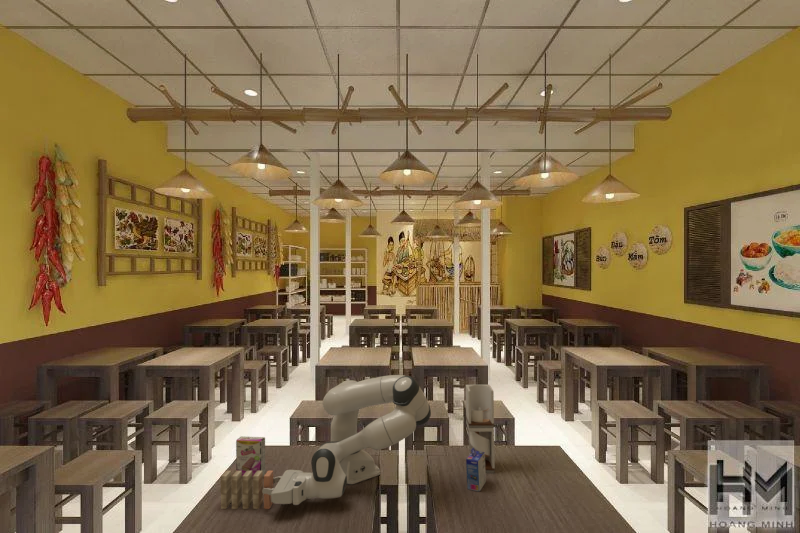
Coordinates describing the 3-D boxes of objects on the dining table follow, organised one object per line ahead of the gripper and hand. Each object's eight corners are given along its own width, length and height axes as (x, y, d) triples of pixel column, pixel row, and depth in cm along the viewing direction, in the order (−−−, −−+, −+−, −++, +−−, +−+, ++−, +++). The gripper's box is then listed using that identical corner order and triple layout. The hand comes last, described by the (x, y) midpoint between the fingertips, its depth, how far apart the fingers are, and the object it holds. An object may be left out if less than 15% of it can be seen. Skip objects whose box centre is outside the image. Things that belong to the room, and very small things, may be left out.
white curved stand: (466, 462, 215) (465, 384, 215) (490, 462, 215) (489, 384, 215) (469, 473, 204) (468, 391, 204) (494, 473, 203) (493, 391, 204)
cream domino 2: (242, 502, 181) (241, 470, 181) (237, 508, 176) (236, 476, 176) (237, 502, 181) (236, 470, 181) (231, 508, 176) (231, 476, 176)
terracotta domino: (273, 502, 181) (273, 470, 181) (269, 508, 176) (269, 476, 176) (268, 502, 181) (268, 470, 181) (264, 508, 176) (263, 476, 176)
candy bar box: (235, 479, 201) (235, 440, 201) (240, 473, 206) (240, 435, 206) (261, 479, 200) (261, 440, 200) (266, 474, 205) (265, 436, 205)
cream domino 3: (252, 502, 181) (252, 470, 181) (248, 508, 176) (247, 476, 176) (247, 502, 181) (247, 470, 181) (242, 508, 176) (242, 476, 176)
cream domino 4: (262, 502, 181) (262, 470, 181) (258, 508, 176) (258, 476, 176) (257, 502, 181) (257, 470, 181) (253, 508, 176) (252, 476, 176)
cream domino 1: (231, 502, 181) (231, 470, 181) (226, 508, 176) (225, 476, 176) (226, 502, 181) (226, 470, 181) (221, 508, 176) (220, 476, 176)
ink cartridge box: (473, 479, 198) (472, 444, 198) (486, 481, 196) (485, 446, 196) (466, 489, 189) (465, 452, 189) (479, 492, 187) (479, 454, 187)
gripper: (309, 465, 188) (274, 465, 189) (296, 489, 168) (257, 489, 168) (309, 481, 188) (274, 481, 189) (296, 507, 168) (257, 507, 168)
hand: (266, 485), depth 178 cm, fingers open, 6 cm apart
